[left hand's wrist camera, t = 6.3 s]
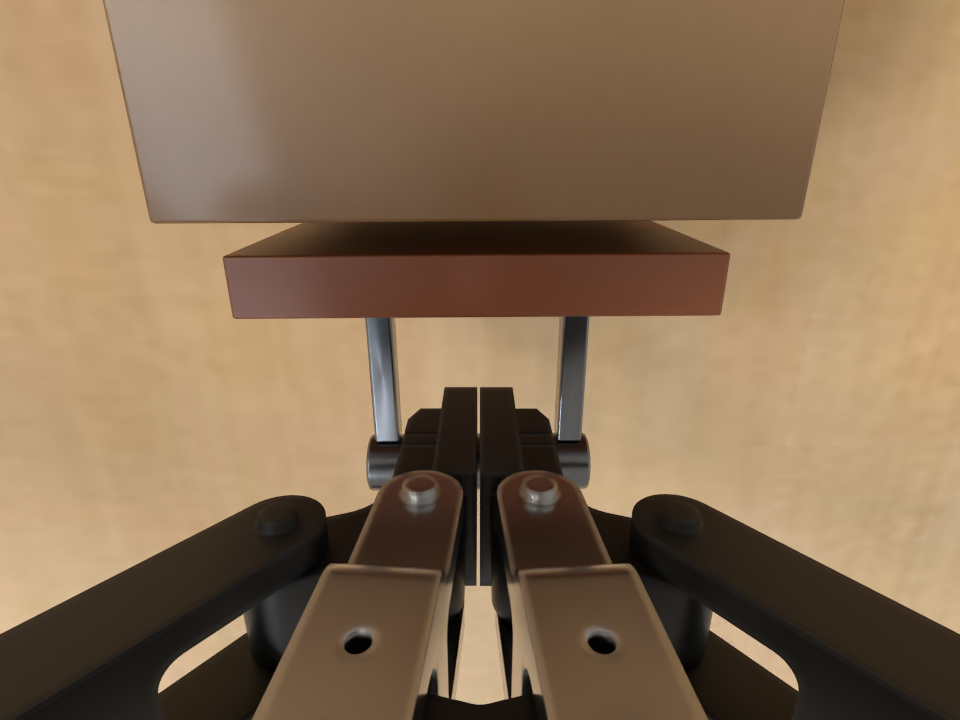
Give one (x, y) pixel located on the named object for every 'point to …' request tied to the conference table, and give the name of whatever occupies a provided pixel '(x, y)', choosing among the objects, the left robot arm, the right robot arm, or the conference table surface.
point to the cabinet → (473, 108)
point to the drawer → (476, 294)
